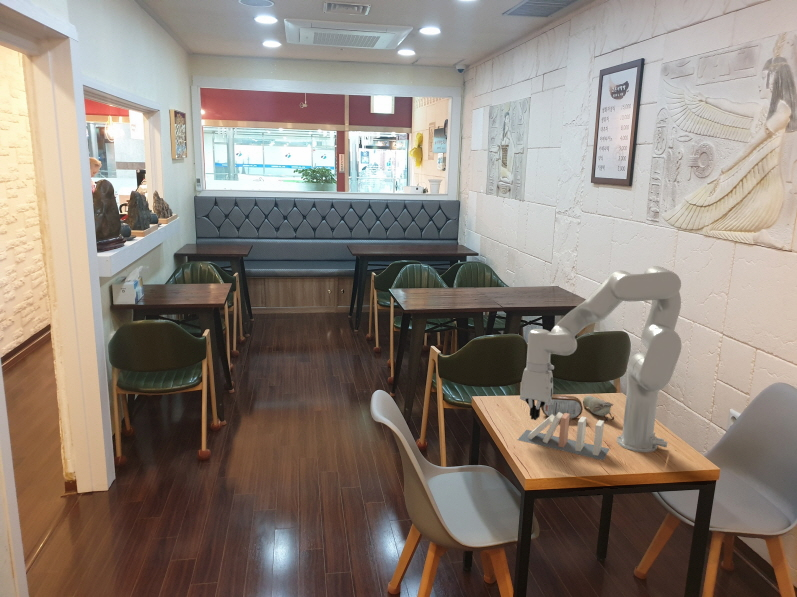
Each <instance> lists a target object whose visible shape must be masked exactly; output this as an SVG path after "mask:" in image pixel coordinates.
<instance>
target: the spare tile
mask: <svg viewBox="0 0 797 597" xmlns="http://www.w3.org/2000/svg"><path fill="white" fill-rule="evenodd" d="M569 418H570V414H568V413H564V415H563V416H562V417H561V420H560V422H559V423H560V424H559V434H558V435H559V436H558V437H559V447H564V446H565V445H566V443H567V441H568V439H569V429H570V419H569Z"/></svg>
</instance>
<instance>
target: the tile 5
mask: <svg viewBox="0 0 797 597" xmlns="http://www.w3.org/2000/svg"><path fill="white" fill-rule="evenodd" d="M604 423H605V421H604V420H601V419H598V421H597V422H596V424H595V430H594V438H593V445H594V448H593V455H597V456H598V455H599V453H600V451H601V447H603V446H602V445H603V436H604V426H605V424H604Z"/></svg>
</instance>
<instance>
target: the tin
mask: <svg viewBox="0 0 797 597" xmlns="http://www.w3.org/2000/svg"><path fill="white" fill-rule="evenodd" d="M551 400H552V404H551V405H544V406H542V407H541V408H540V410H541V411H542V413H543V414H544V416H546V417H547V418H548V417H549V416H551V415H552V414H553V415H554V416H556V415H557V414H558V412H560V413H562V414H563V415H564V413H568V414H570V418H569V420H575V419H577V418H579V417H580V416H581V415H582V413H583V408H584V407H583V402H582V401H581V400H580V399H579V398H578V397H576V396H573V395H572V396H571V395H558V394H553V397H552V398H551Z"/></svg>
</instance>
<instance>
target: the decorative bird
mask: <svg viewBox="0 0 797 597" xmlns="http://www.w3.org/2000/svg"><path fill="white" fill-rule="evenodd" d="M582 407H583V408H584V409H587V408H588V409H589V411H590V412H591V413H592V414H594V415H596V416H599V417H604V418H605V419H604V420H603V421H604V423H606V422H609V417H608V416H607V415H608V414H609V415H610V418H611V419H610V421H615V416H612V413H611V408H612V407H614V403H612V402H609V401H605V400H604V399H601V398H598V397H594V396H592V395H586V396H585V397H584V398H583V400H582ZM606 416H607V417H606Z"/></svg>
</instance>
